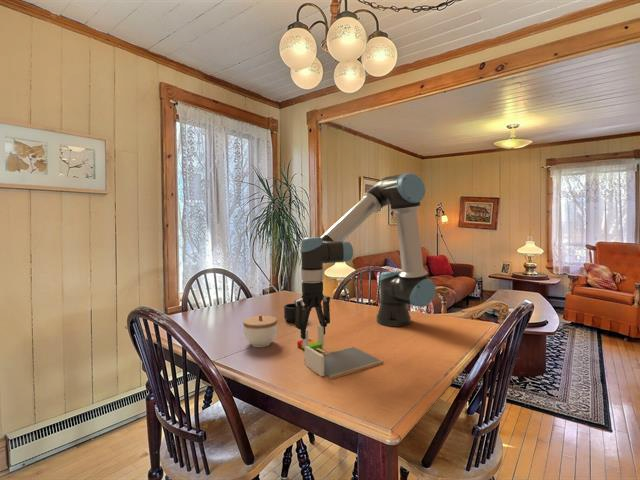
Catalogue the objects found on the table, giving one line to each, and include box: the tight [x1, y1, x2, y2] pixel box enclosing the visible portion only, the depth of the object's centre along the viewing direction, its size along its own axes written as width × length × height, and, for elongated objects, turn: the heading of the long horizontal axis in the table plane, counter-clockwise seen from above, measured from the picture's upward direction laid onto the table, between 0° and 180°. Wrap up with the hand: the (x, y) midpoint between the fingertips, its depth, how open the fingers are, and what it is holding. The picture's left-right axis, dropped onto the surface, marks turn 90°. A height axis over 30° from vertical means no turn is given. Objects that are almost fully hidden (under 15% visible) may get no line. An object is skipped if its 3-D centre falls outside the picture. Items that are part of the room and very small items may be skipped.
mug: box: [283, 303, 304, 323], centre depth 161 cm, size 12×9×7 cm
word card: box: [304, 346, 325, 377], centre depth 108 cm, size 1×10×6 cm, turn 32°
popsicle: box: [296, 338, 327, 354], centre depth 124 cm, size 6×15×2 cm, turn 34°
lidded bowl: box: [243, 314, 278, 348], centre depth 131 cm, size 13×13×11 cm
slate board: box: [304, 346, 384, 380], centre depth 114 cm, size 20×16×1 cm
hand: (313, 345), depth 124 cm, fingers closed on popsicle, 6 cm apart
